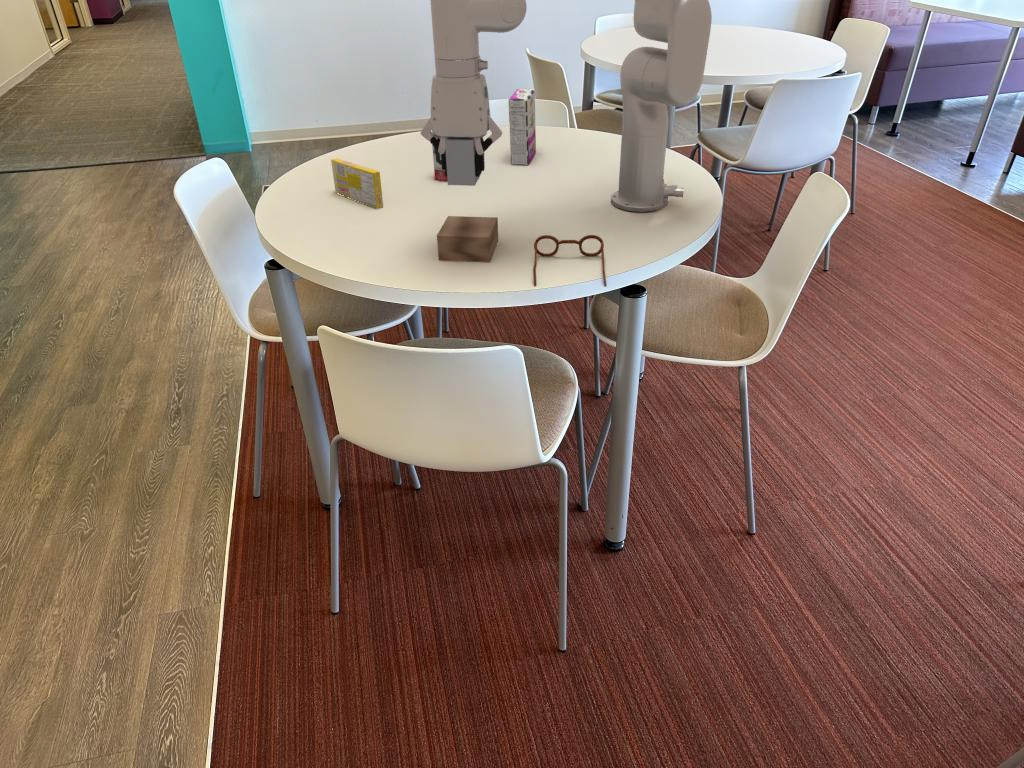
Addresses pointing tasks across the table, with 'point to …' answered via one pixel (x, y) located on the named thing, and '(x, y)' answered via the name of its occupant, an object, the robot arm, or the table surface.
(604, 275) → the glasses
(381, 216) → the table surface
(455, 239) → the block
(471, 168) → the grey block
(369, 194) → the candy box
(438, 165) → the ink box
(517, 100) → the candy bar box
